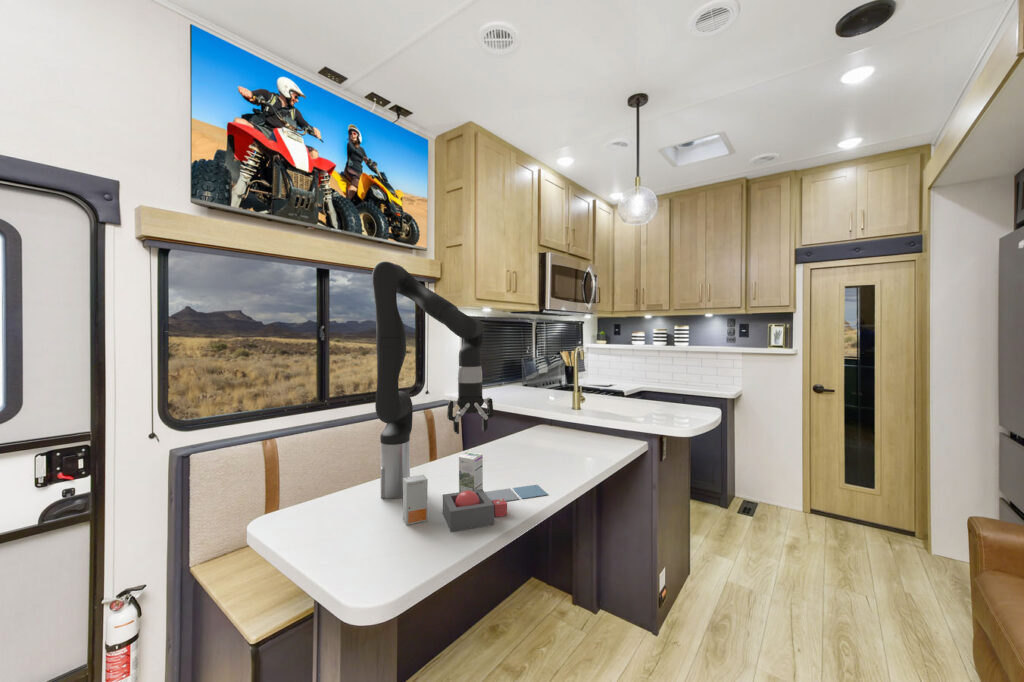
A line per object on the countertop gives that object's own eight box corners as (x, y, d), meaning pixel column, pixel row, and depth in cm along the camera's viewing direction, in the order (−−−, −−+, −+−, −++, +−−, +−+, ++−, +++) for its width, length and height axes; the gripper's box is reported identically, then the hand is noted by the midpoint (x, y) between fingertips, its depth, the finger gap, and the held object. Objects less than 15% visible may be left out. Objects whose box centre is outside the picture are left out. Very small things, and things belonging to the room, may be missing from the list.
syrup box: (483, 498, 129) (483, 453, 128) (474, 505, 123) (474, 458, 123) (468, 495, 131) (467, 451, 131) (458, 502, 126) (458, 456, 125)
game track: (458, 508, 121) (458, 507, 121) (452, 497, 130) (452, 496, 130) (548, 495, 131) (548, 494, 131) (537, 485, 140) (537, 484, 140)
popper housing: (450, 532, 107) (450, 511, 107) (442, 513, 118) (442, 494, 118) (512, 521, 113) (512, 502, 113) (498, 504, 124) (498, 486, 124)
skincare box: (406, 526, 110) (405, 482, 110) (402, 519, 114) (402, 477, 114) (428, 521, 113) (427, 478, 113) (424, 515, 117) (423, 474, 117)
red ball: (457, 523, 110) (457, 497, 110) (452, 512, 117) (452, 488, 117) (482, 519, 112) (482, 494, 112) (476, 508, 119) (476, 485, 119)
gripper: (449, 383, 121) (450, 437, 121) (495, 380, 125) (496, 433, 126) (445, 380, 128) (445, 431, 128) (488, 378, 132) (489, 427, 133)
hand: (470, 432), depth 127 cm, fingers open, 8 cm apart
